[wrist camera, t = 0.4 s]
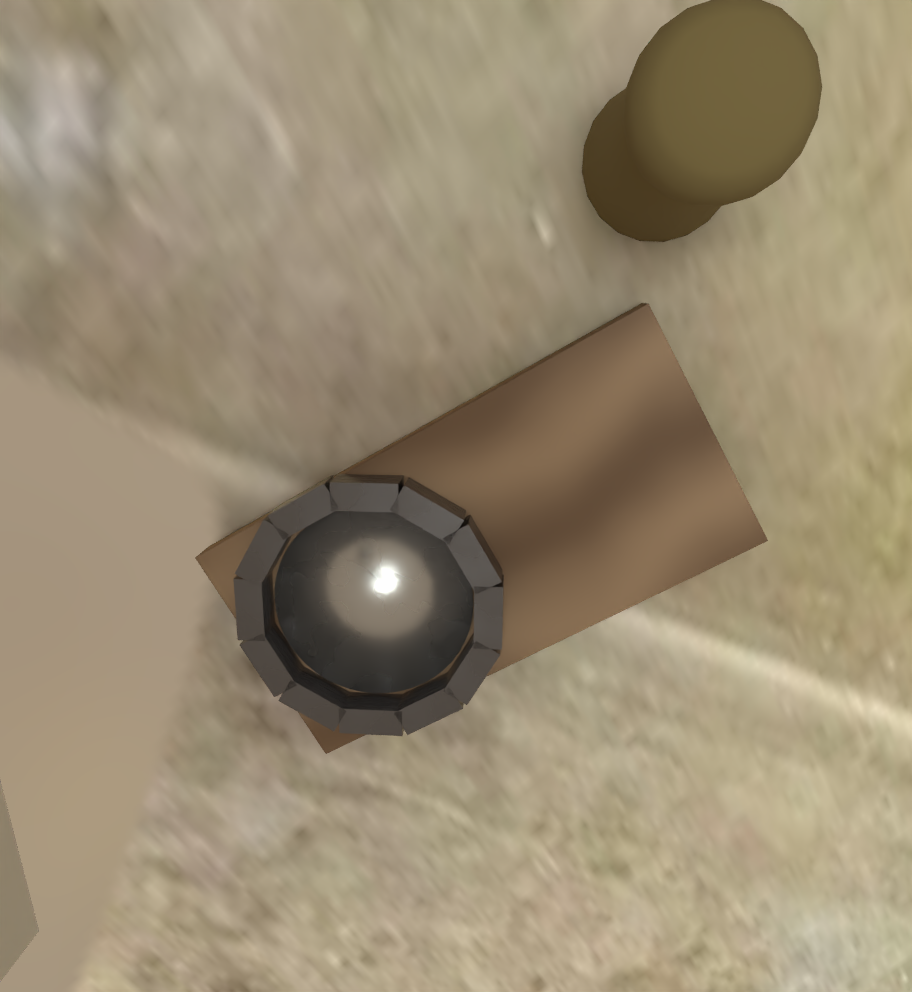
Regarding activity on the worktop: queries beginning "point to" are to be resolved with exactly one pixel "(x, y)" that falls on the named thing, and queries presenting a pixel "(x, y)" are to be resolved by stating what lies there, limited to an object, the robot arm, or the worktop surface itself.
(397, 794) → the worktop surface
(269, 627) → the ring holder
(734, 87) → the cork
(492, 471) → the walnut board
